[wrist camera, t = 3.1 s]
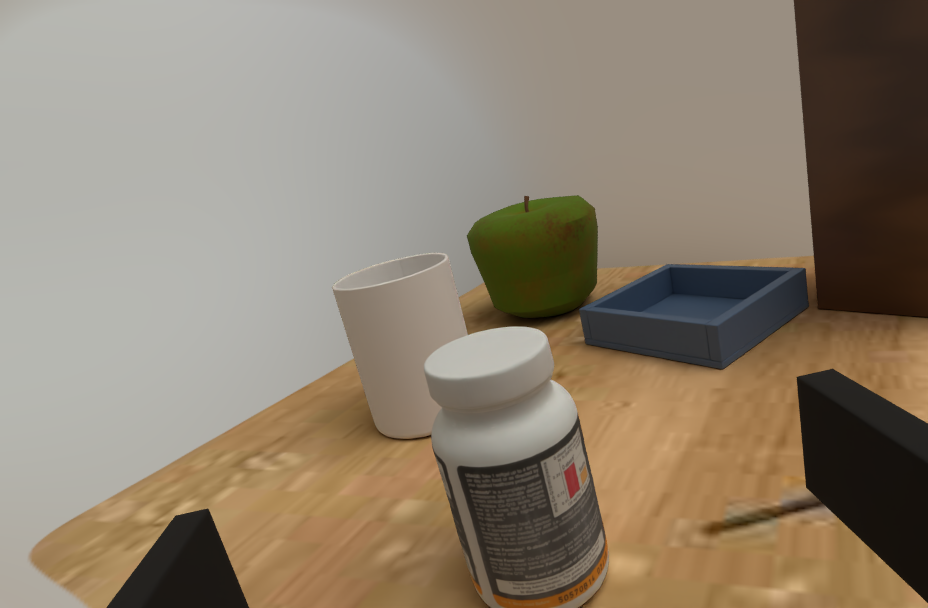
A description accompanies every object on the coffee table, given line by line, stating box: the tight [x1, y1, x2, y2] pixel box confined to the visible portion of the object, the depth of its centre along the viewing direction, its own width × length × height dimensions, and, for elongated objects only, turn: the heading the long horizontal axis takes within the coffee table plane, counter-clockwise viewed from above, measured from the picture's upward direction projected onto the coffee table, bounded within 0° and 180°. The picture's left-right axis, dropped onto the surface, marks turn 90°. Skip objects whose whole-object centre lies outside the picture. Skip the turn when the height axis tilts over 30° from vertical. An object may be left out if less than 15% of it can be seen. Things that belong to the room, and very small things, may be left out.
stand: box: [794, 0, 928, 317], centre depth 35 cm, size 10×10×36 cm
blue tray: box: [579, 264, 809, 369], centre depth 43 cm, size 12×12×3 cm
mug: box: [332, 253, 468, 439], centre depth 41 cm, size 12×8×10 cm, turn 178°
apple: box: [467, 195, 598, 318], centre depth 55 cm, size 12×12×11 cm
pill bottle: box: [424, 327, 609, 608], centre depth 22 cm, size 6×6×10 cm
